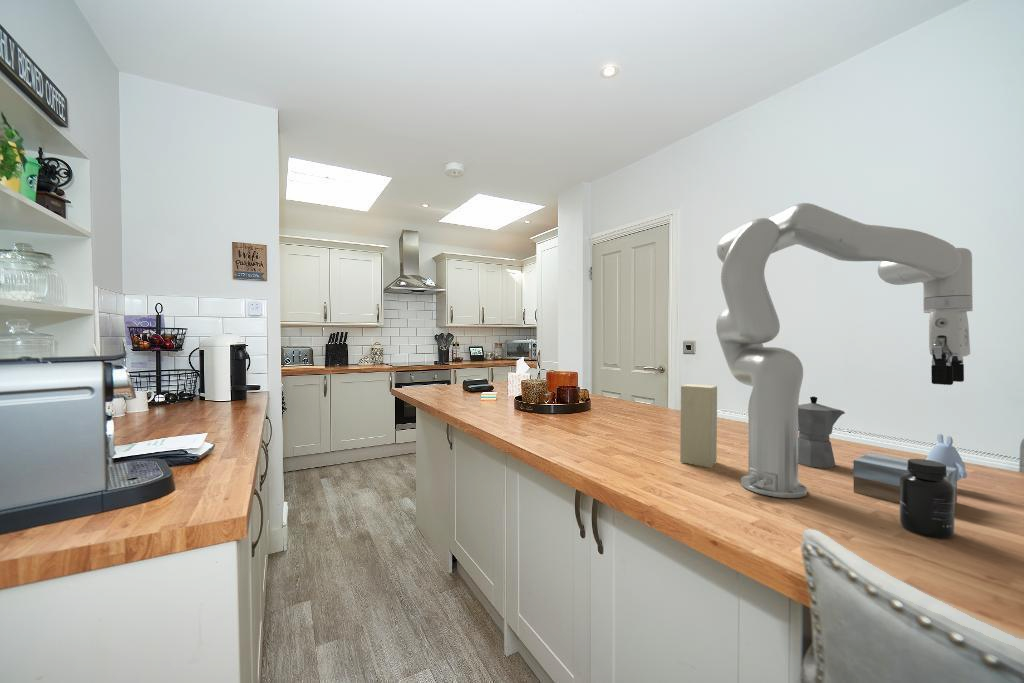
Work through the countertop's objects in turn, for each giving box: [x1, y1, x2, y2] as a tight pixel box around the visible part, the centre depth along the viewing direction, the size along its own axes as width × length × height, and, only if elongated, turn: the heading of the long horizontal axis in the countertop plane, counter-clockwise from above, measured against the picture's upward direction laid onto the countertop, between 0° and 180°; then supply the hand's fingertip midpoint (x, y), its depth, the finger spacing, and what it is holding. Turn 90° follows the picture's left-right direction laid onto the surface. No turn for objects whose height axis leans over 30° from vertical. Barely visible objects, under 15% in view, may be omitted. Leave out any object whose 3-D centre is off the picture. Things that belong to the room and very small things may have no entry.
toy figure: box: [925, 433, 968, 482], centre depth 93 cm, size 11×6×12 cm, turn 171°
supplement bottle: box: [899, 458, 956, 540], centre depth 73 cm, size 7×7×12 cm
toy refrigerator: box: [679, 383, 718, 468], centre depth 114 cm, size 8×7×21 cm
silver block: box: [853, 452, 958, 505], centre depth 88 cm, size 10×14×7 cm
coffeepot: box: [798, 396, 846, 469], centre depth 113 cm, size 15×9×18 cm, turn 44°
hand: (948, 382), depth 93 cm, fingers open, 9 cm apart
